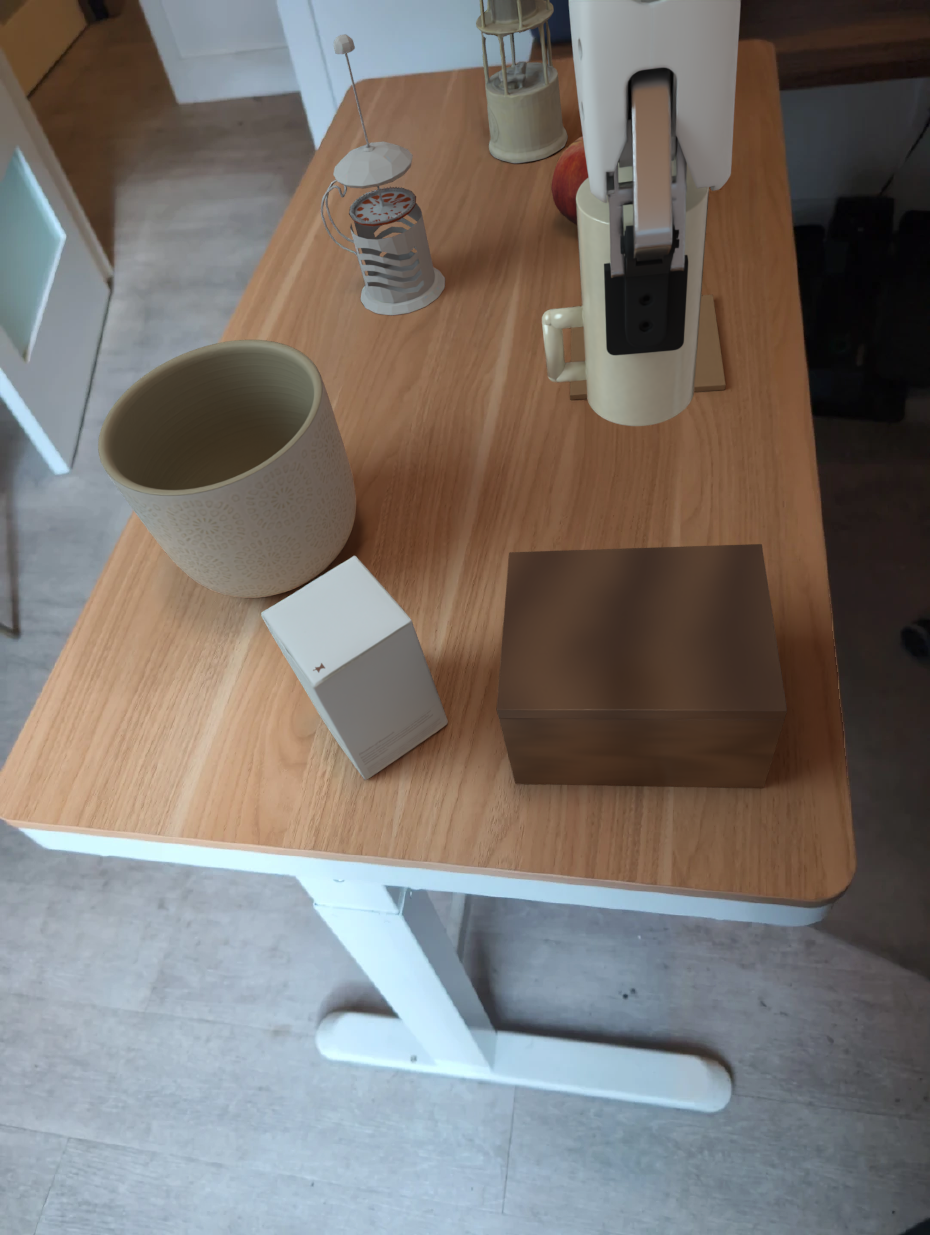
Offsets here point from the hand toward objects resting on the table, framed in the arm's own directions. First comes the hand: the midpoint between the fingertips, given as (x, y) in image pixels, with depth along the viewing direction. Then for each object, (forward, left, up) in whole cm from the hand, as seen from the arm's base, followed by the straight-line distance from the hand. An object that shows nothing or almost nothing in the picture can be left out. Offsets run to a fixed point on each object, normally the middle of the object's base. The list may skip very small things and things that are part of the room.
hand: (641, 303), depth 37 cm
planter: (+30, -12, -29) cm, 44 cm away
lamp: (+11, -82, -29) cm, 88 cm away
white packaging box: (+18, +5, -29) cm, 35 cm away
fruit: (+2, -60, -29) cm, 67 cm away
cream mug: (0, 0, -5) cm, 5 cm away
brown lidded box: (0, +4, -29) cm, 29 cm away
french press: (+25, -50, -29) cm, 63 cm away
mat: (-2, -36, -29) cm, 46 cm away
